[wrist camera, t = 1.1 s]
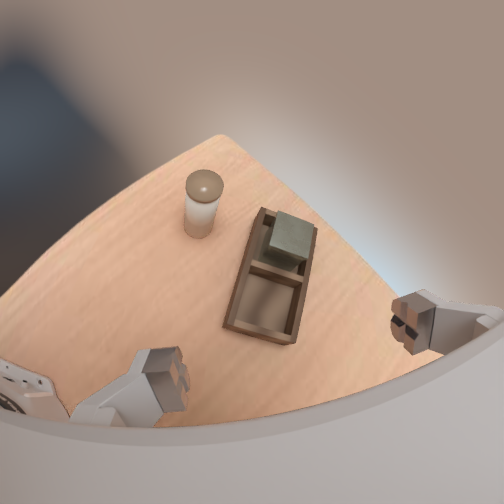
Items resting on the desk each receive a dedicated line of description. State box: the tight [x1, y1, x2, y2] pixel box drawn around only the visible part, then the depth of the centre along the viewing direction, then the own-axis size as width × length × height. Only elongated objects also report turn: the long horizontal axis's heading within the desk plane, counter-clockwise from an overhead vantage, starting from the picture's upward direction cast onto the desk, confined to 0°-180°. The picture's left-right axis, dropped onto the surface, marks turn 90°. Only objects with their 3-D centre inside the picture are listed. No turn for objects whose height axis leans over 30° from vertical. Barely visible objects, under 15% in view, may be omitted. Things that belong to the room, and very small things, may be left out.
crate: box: [222, 207, 318, 345], centre depth 47 cm, size 11×21×5 cm, turn 165°
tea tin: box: [258, 211, 314, 272], centre depth 47 cm, size 6×6×8 cm
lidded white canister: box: [184, 170, 224, 238], centre depth 44 cm, size 5×5×13 cm
